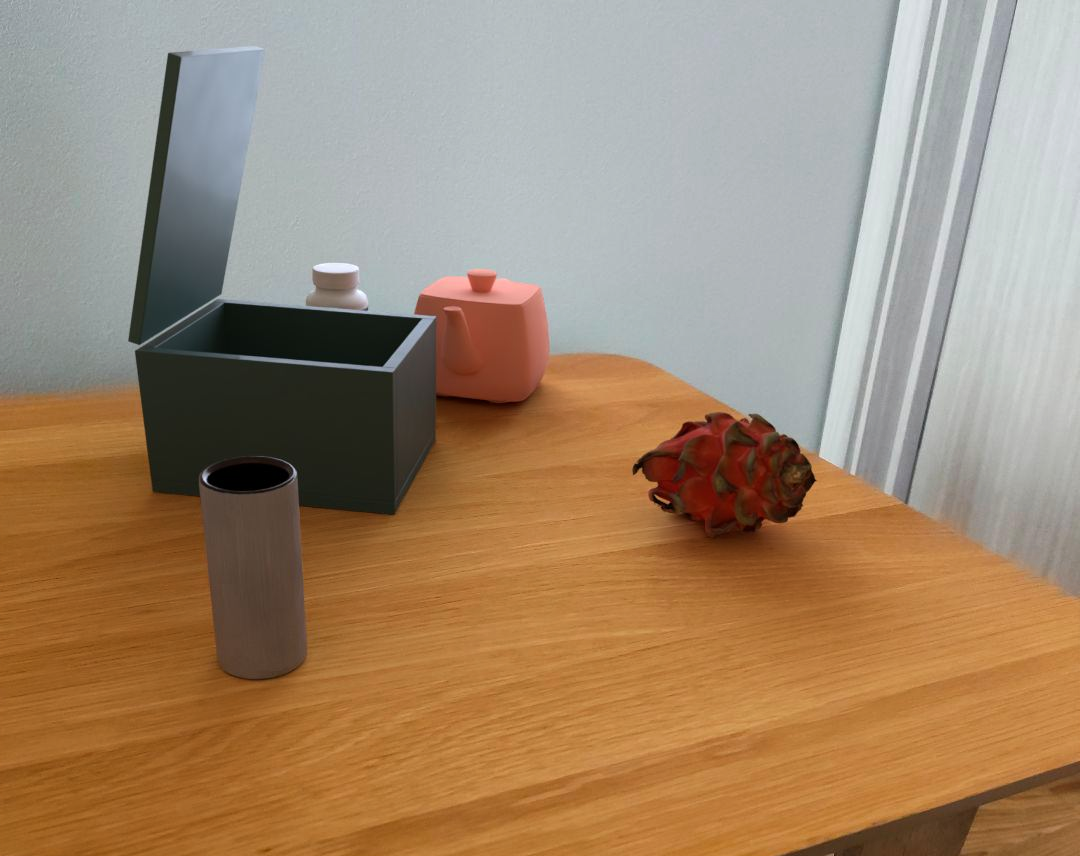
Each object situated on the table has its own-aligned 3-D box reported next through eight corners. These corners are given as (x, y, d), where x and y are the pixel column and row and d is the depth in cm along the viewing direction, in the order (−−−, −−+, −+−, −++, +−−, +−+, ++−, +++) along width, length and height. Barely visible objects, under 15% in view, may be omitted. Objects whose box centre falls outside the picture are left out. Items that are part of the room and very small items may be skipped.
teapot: (561, 369, 101) (567, 258, 96) (513, 433, 85) (518, 304, 80) (446, 355, 103) (447, 246, 98) (378, 415, 87) (376, 289, 83)
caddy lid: (265, 49, 72) (254, 45, 72) (181, 57, 59) (167, 52, 59) (221, 294, 80) (211, 290, 80) (139, 345, 67) (127, 341, 67)
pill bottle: (299, 381, 94) (293, 270, 90) (324, 363, 99) (319, 258, 94) (356, 388, 93) (352, 277, 89) (378, 370, 98) (376, 264, 93)
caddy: (435, 440, 83) (436, 316, 78) (394, 514, 71) (392, 372, 66) (228, 422, 84) (217, 298, 80) (152, 492, 72) (134, 350, 68)
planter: (200, 653, 55) (180, 469, 50) (276, 623, 58) (264, 448, 53) (247, 691, 52) (230, 501, 47) (324, 658, 55) (315, 476, 50)
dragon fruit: (815, 566, 70) (637, 561, 74) (818, 458, 74) (649, 458, 78) (815, 500, 63) (617, 498, 66) (818, 385, 67) (632, 388, 70)
